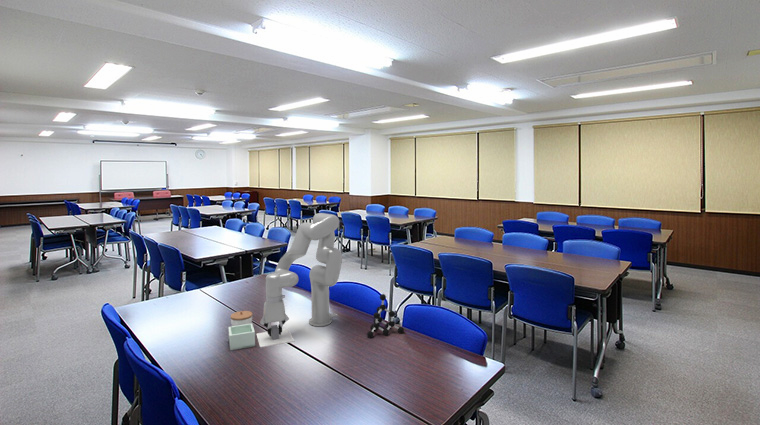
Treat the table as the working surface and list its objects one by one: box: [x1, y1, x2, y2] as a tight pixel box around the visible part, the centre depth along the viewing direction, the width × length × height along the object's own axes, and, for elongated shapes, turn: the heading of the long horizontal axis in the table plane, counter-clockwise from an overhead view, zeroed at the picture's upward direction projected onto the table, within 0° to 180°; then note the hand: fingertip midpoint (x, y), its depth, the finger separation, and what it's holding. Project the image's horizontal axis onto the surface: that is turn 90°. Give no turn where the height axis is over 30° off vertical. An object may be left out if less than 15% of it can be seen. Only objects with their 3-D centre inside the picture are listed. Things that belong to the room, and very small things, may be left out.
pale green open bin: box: [228, 322, 256, 351], centre depth 178 cm, size 11×11×7 cm
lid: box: [255, 324, 295, 348], centre depth 185 cm, size 16×16×6 cm
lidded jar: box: [230, 310, 253, 326], centre depth 195 cm, size 11×11×9 cm
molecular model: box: [366, 293, 405, 339], centre depth 191 cm, size 18×20×20 cm
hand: (274, 334), depth 185 cm, fingers open, 4 cm apart
